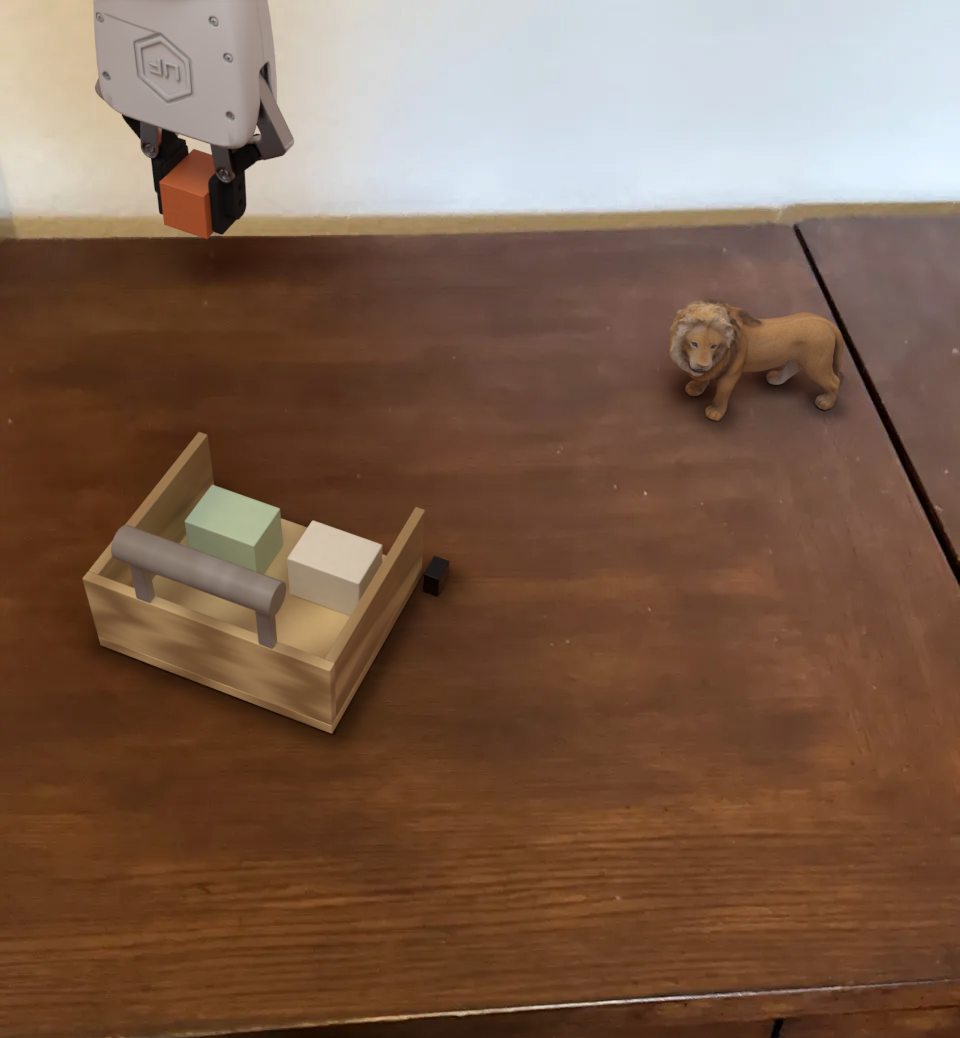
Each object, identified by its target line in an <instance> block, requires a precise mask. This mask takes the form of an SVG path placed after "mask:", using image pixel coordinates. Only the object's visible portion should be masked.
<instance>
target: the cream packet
mask: <svg viewBox="0 0 960 1038" xmlns="http://www.w3.org/2000/svg"><path fill="white" fill-rule="evenodd" d="M382 554H383V544H381V543H379V542H376V541H373V540H371V539H367V538H364V537H361V536H359V535H356V534H353V533H350V532H348V531H345V530H342V529H339V528H337V527H332V526H331V525H327V524H325V523H322V522H319V521H316V520H311V522H310V523H309V525H308V526H307V529H306V531H305V532H304V534H303V535H302V537H301V538H300V540H299V541H298V543H297V544H296V546H295V547H294V549H293V550H292V552H291V553H290V555H289V556H288V558H287V561H288V575H289V589H290V594H291V595H294V596H296V597H299V598H302V599H305V600H307V601H310V602H313V603H316V604H318V605H321V606H324V607H327V608H329V609H332V610H335V611H338V612H340V613H343V614H346V615H349V616H351V614H352V612H353V611H354V609H355V607H356V606H357V604H358V602H359V601H360V599H361V597H362V596H363V594H364V592H365V591H366V589H367V587H368V586H369V584H370V582H371V581H372V579H373V577H374V576H375V574H376V572H377V571H378V569H379V567H380V566H381V564H382Z"/></svg>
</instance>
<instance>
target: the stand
mask: <svg viewBox="0 0 960 1038" xmlns="http://www.w3.org/2000/svg"><path fill="white" fill-rule="evenodd" d="M449 571H450V560H448V559H445V558H442V557H440V556H436V555H433V556H432V558H431V560H430V562H429V564H428V566H427V567H426V569H425V571H424V572H423V579H422V592H425V593H426V594H429V595H432V596H435V597H439V596H440V593H441V592H442V590H443V588H444V587H445V585H446V583H447V581H448V579H449Z"/></svg>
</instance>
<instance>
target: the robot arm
mask: <svg viewBox="0 0 960 1038" xmlns="http://www.w3.org/2000/svg"><path fill="white" fill-rule="evenodd" d="M92 3H93V30H94V47H95V58H96V67H97V77H98V78H97V81H96V82H95V85H94V90H95V93H96V94H97V96H98V97H99V98H101V100H103V101H104V102H105V103H106V104H107V105H108V106H109V107H110V108H111V109H113V110H114V111H115V112H117V113H119V114H120V115H121V117H122V119H123V120H124V122H125V123H126V124H127V126H128V127H129V128H130V129H131V130H132V132H133V133H134V134H135V135H136V136H137V138H138V139H139V140H140V150H141V152H142V154H144V155H145V157H147V158H148V159H150V163H151V171H152V180H153V181H152V182H153V188H154V192H155V193H156V198H157V206H158V213H159V214H160V215H162V216H163V210H162V201H161V192H160V183H159V182H160V181H161V180H162V179H163V178H164V177H165V176H166V175H167V174H168V173H170V172H171V171H172V170H173V169H174V168H175V167H176V166H177V165H178V164H179V163H180V162H181V161H182V160H183V159H184V158H185V157H186V156H187V155H188V154H189V153H190V152H189V146H188V145H187V140H186V139H184V138H181V137H179V136H182V137H187V138H190V139H193V140H196V141H198V142H202V143H205V144H209V146H210V151H211V155H212V157H213V163H214V168H215V174H214V175H213V176H212V177H211V178H210V179H209V181H208V189H209V193H210V206H211V219H212V229H213V231H214V232H213V233H215V234H218V235H224V234H225V233H226V232H227V231H228V229H229V228H231V227H232V225H233V224H235V222H236V221H239V220H240V219H241V218H242V217H243V216H244V214H245V213H246V210H247V188H246V187H247V185H246V170H248V169H249V168H251V167H252V166H254V164H256V163H257V162H260V161H268V160H271V159H276V158H281V157H283V156H285V155H286V153H288V151H289V150H290V149H291V148H292V147H293V146H294V145H295V139H294V136H293V134H292V131H291V130H290V128H289V126H288V123H287V122H286V119H285V117H284V115H283V113H282V111H281V109H280V107H279V105H278V103H277V102H278V101H277V100H278V83H277V82H278V81H277V79H278V78H277V64H276V54H275V43H274V35H273V34H274V33H273V28H272V27H273V25H272V19H271V18H272V17H271V13H270V7H269V1H268V0H93V2H92ZM256 129H258V131H259V133H256Z"/></svg>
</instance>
